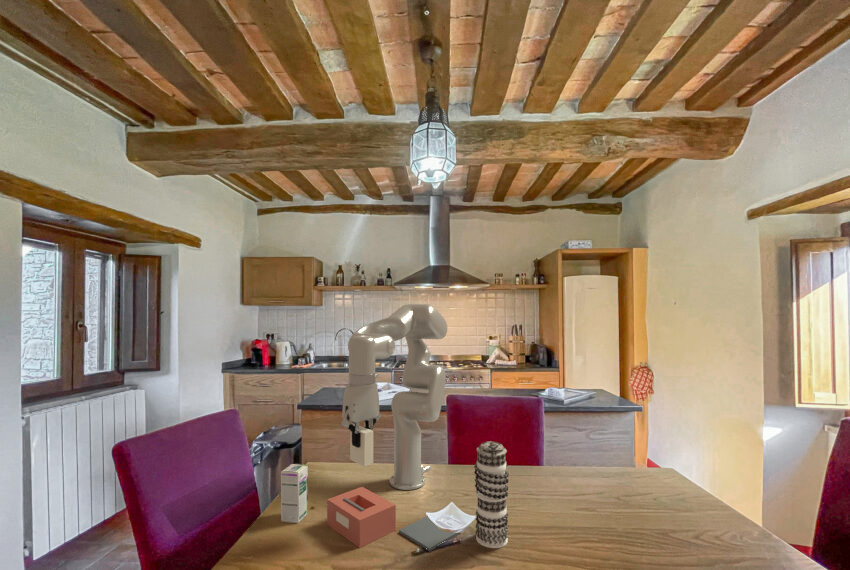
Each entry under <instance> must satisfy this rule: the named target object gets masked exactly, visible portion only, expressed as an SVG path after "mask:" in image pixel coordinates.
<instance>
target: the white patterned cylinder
mask: <svg viewBox="0 0 850 570" xmlns="http://www.w3.org/2000/svg"><path fill="white" fill-rule="evenodd" d="M476 451H477V453H476V454H477V458H476V462H475V463H474V466H473V467H474V468H473V469H474V472H473V473H474V474H475V479H474V482H475V484H474V486H475V490H476V491H475V495H476V497H477V503H476V510H475V515H476V516H475V521H476V523H475V528H476V529H475V535H476V536H475V537H476V538H475V539H476V541H477V543H478V544H479V545H481V546H483V547H485V548H489V549H500V548H503V547H505V546H506V545H507V544H508V541H509V540H508V539H509V536H508V535H509V532H508V531H509V526H508V522H509V521H508V520H509V519H508V516H509V514H508V512H507V510H508V509H507V508H508V507H507V505H506V504H507V498H508V497H509V492H507V491H508V490H509V486H508V485H506V484H508V483H509V472H508V471H506V470H507V467H508V464H507V461H506V458H507V457H506V453H507V452H508V450H507V449H506V448H505V447H504V446H503V444H502V443H499V442H497V441H491V440H490V441H484V442H482V443H481V444H480V445H479V446H478V447H476Z"/></svg>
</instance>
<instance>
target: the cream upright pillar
mask: <svg viewBox="0 0 850 570" xmlns="http://www.w3.org/2000/svg"><path fill="white" fill-rule="evenodd" d="M349 432H350V433H349V434H350V435H349V436H350V437H349V445H350V446H349V449H350V451H349V453H350V454H349V460H350V461H352V462H354V463H357V464H358V465H361V466H363V467H366V466H369V465H373V464H374V430H373V429H372V430H370V429H367V428H365V426H361V425H359V433H360V447H359V448H357V447H355V446H353V445H352V432H351V431H350V430H349Z"/></svg>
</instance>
